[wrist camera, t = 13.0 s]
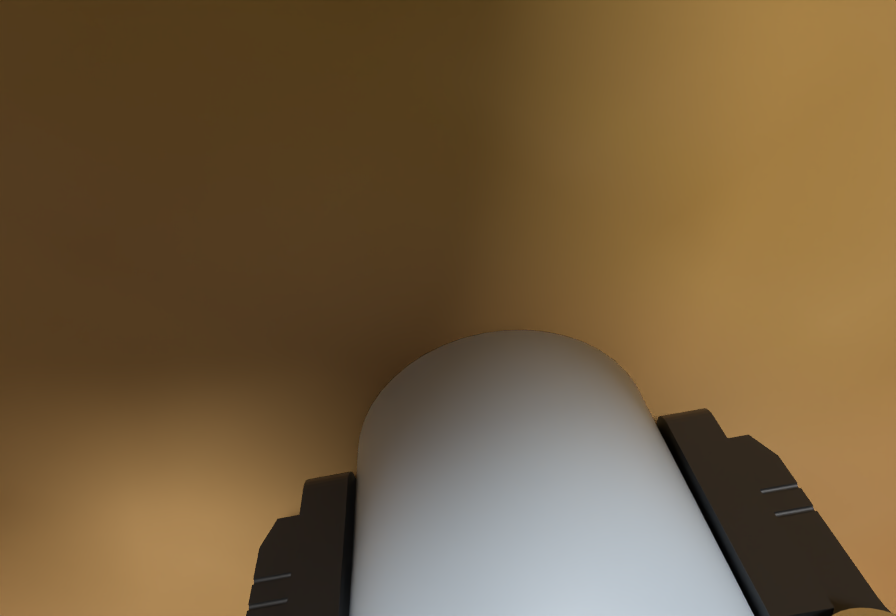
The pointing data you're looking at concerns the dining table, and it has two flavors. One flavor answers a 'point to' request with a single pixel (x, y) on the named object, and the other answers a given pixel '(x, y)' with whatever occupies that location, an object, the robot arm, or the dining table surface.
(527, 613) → the pale blue rounded ovoid
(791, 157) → the dining table surface
